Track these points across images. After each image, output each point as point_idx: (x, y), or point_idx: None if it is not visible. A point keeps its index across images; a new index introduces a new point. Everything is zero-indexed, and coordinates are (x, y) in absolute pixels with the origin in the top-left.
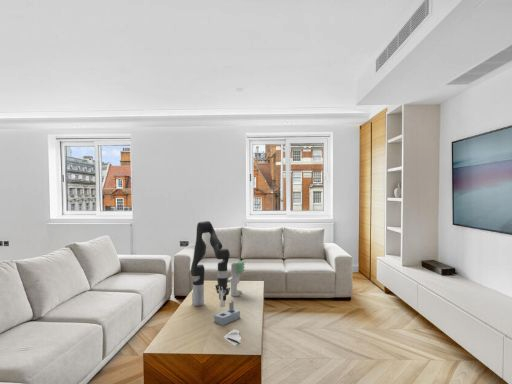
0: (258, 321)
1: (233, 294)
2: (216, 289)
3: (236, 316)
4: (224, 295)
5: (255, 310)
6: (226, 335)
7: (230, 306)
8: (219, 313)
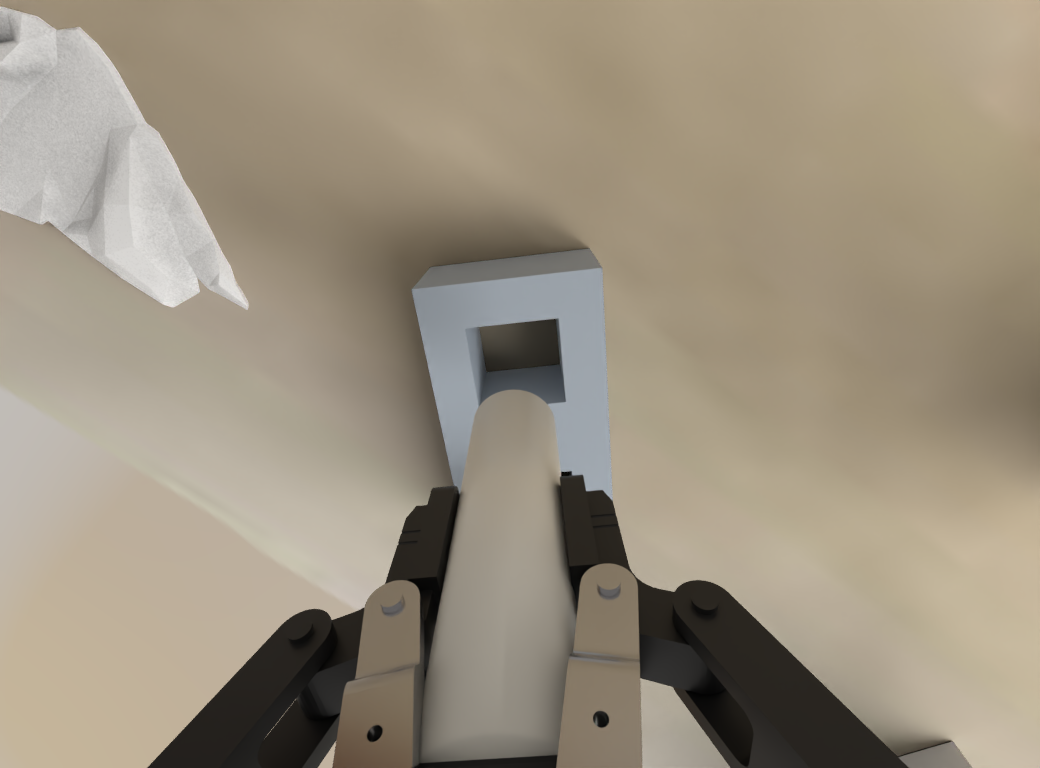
0: (286, 563)
1: (937, 764)
2: (821, 701)
3: None
4: (371, 600)
5: None
6: (113, 96)
7: None
8: (589, 360)
